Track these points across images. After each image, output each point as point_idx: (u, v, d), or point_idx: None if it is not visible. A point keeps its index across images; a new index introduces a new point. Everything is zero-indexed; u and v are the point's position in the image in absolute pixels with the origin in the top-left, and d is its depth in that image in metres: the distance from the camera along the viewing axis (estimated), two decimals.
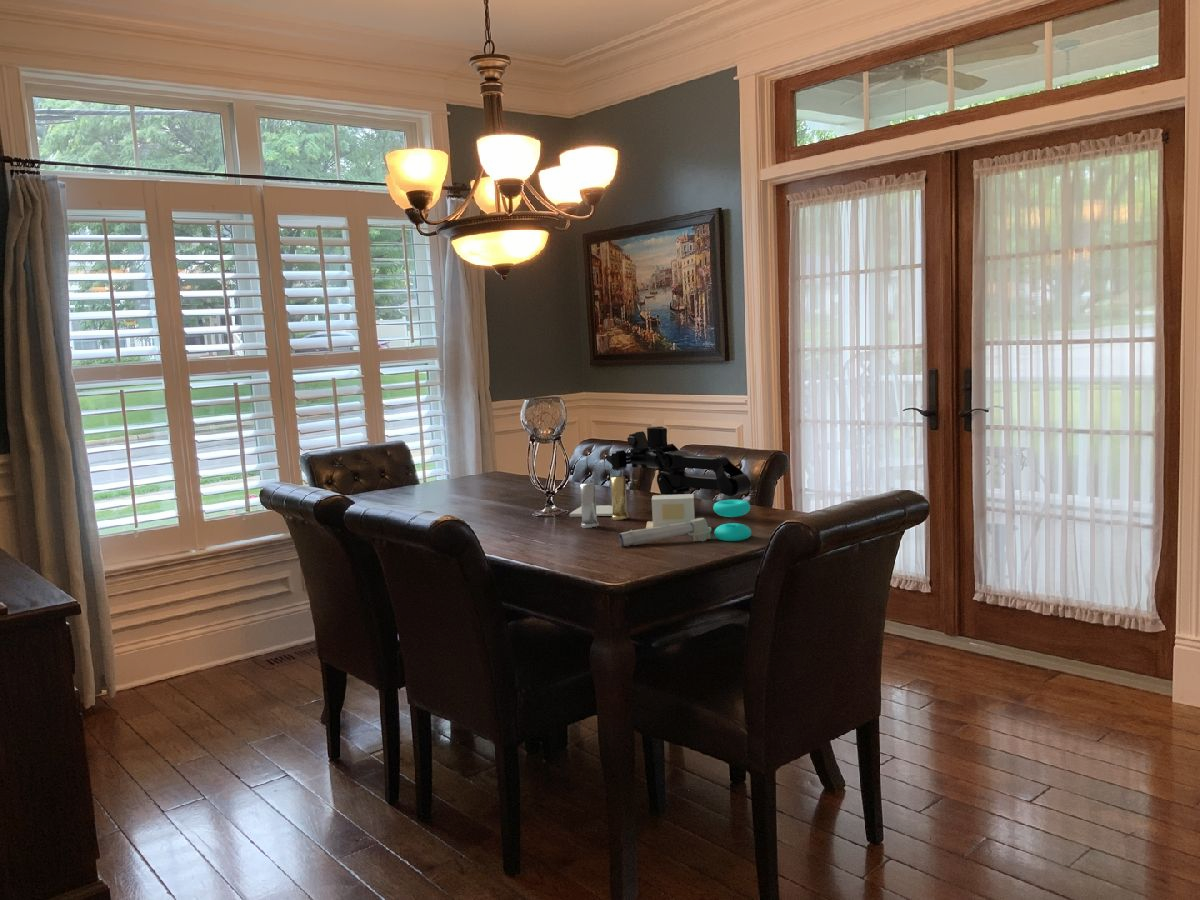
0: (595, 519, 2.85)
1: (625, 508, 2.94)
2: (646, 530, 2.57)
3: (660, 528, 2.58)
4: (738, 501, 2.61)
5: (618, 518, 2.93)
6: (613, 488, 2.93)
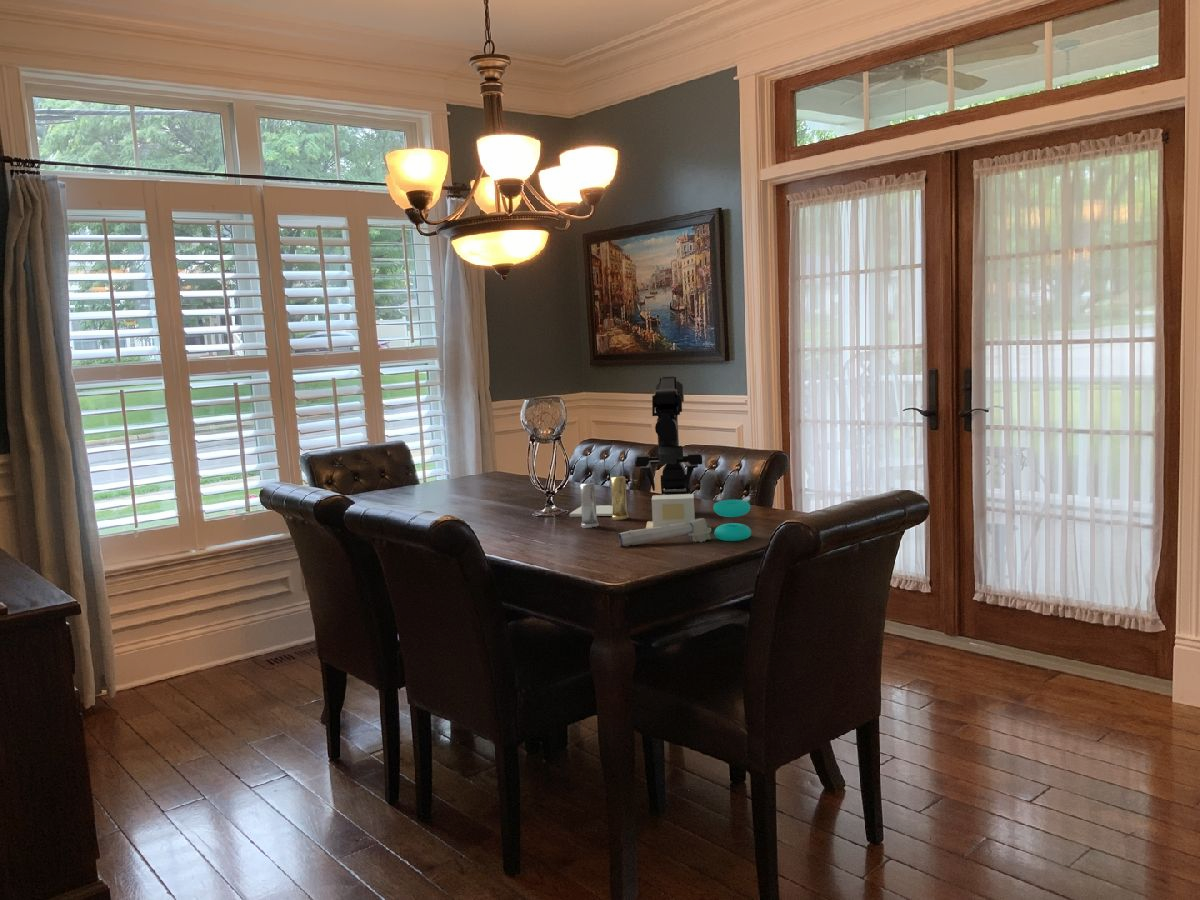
0: (595, 519, 2.85)
1: (625, 508, 2.94)
2: (645, 530, 2.57)
3: (659, 528, 2.57)
4: (738, 501, 2.61)
5: (618, 518, 2.93)
6: (613, 488, 2.93)
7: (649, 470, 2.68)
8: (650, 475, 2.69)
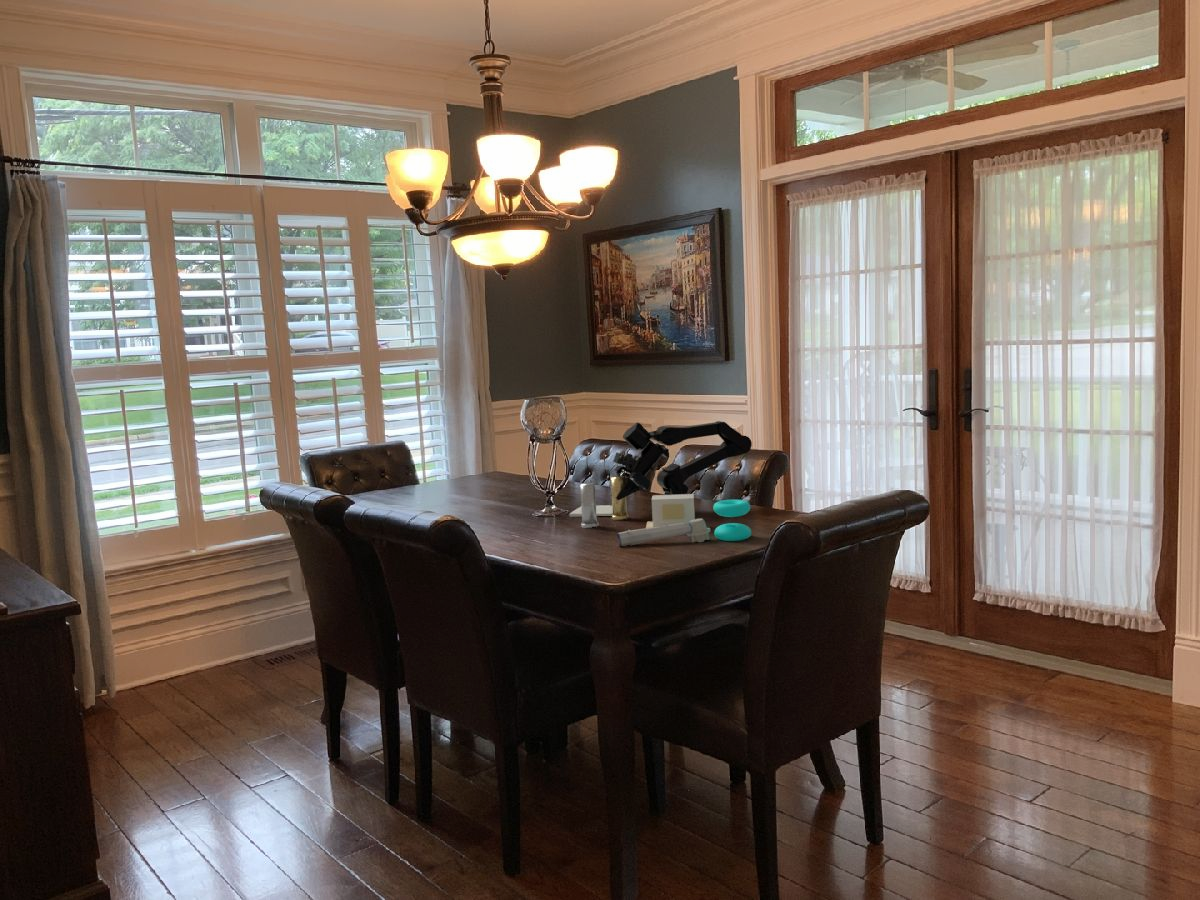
0: (595, 519, 2.85)
1: (625, 508, 2.94)
2: (644, 530, 2.57)
3: (658, 528, 2.57)
4: (738, 501, 2.61)
5: (618, 518, 2.93)
6: (613, 488, 2.93)
7: None
8: None
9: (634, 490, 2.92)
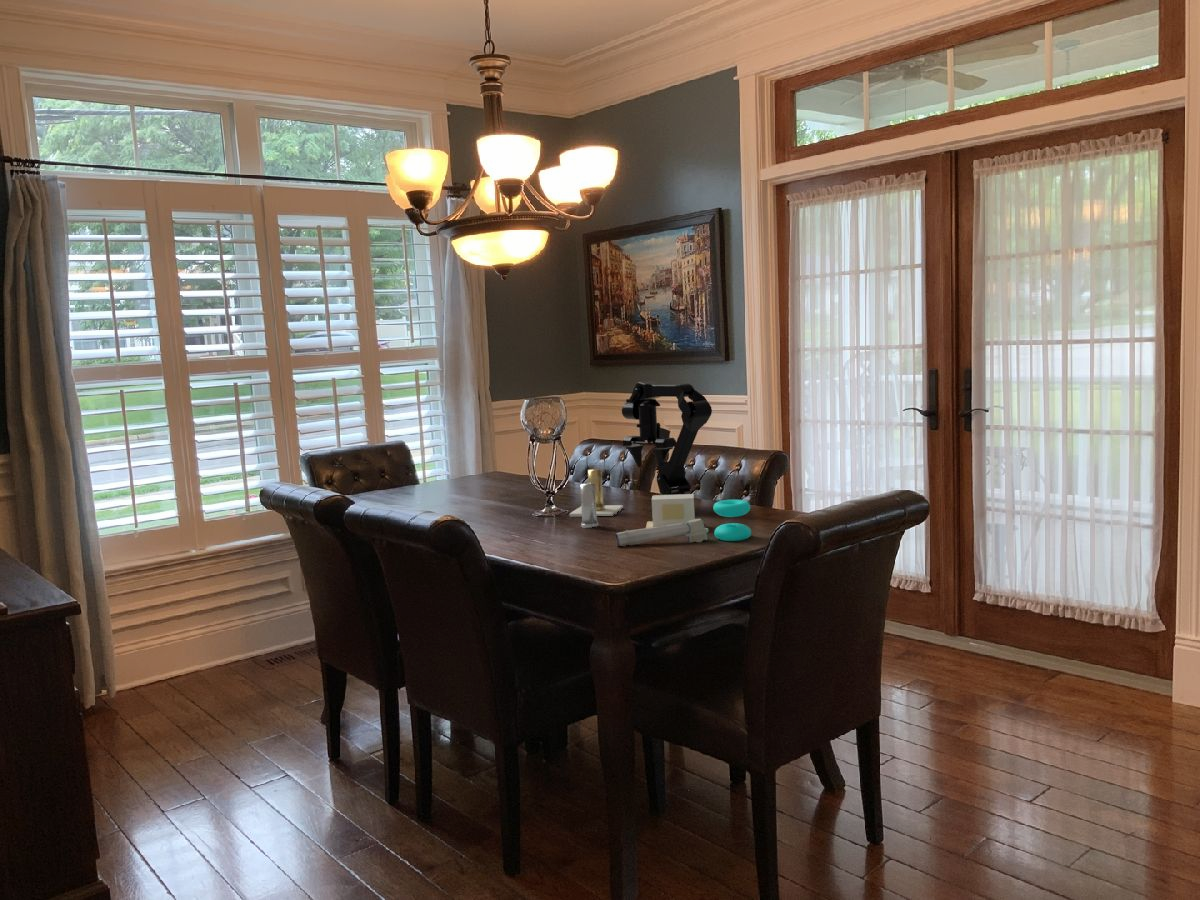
0: (595, 519, 2.85)
1: (598, 500, 3.06)
2: (642, 530, 2.57)
3: (656, 528, 2.57)
4: (738, 501, 2.61)
5: None
6: (588, 479, 3.06)
7: None
8: None
9: None
